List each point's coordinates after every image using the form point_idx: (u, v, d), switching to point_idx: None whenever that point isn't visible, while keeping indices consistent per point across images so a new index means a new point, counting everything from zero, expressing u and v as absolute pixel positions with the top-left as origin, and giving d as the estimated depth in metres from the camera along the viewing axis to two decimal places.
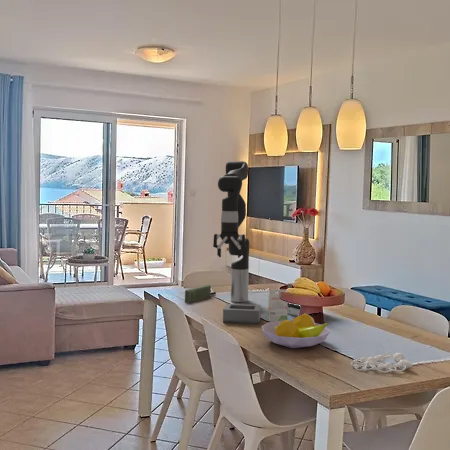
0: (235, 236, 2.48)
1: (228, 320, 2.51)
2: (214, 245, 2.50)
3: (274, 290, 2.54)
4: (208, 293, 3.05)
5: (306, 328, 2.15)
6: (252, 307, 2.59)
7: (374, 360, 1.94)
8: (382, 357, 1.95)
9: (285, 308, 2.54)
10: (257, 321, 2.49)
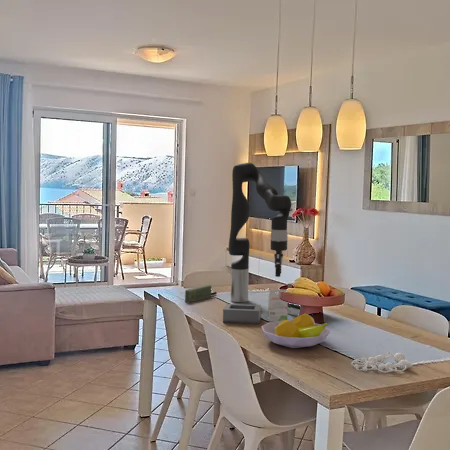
0: (281, 253, 2.57)
1: (228, 320, 2.51)
2: (280, 265, 2.48)
3: (274, 290, 2.54)
4: (209, 293, 3.05)
5: (306, 328, 2.15)
6: (252, 307, 2.59)
7: (375, 360, 1.94)
8: (382, 357, 1.95)
9: (285, 308, 2.54)
10: (257, 321, 2.49)
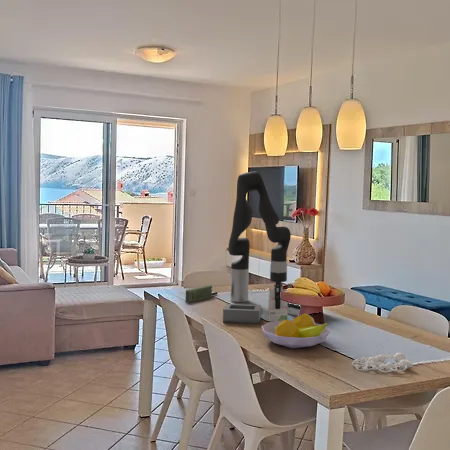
0: None
1: (228, 320, 2.51)
2: None
3: None
4: (209, 293, 3.05)
5: (306, 328, 2.15)
6: (252, 307, 2.59)
7: (375, 360, 1.94)
8: (383, 357, 1.95)
9: (285, 308, 2.54)
10: (257, 321, 2.49)
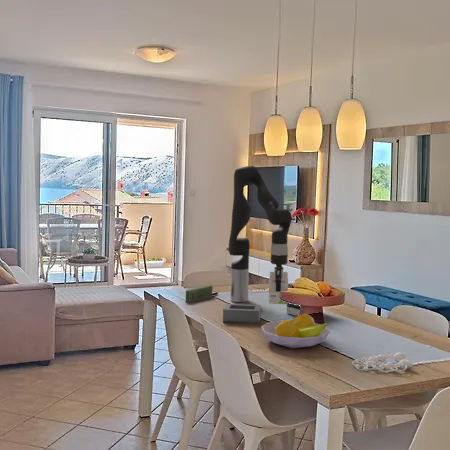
0: None
1: (228, 320, 2.51)
2: (280, 280, 2.50)
3: (274, 272, 2.53)
4: (210, 293, 3.05)
5: (306, 328, 2.15)
6: (252, 307, 2.59)
7: (375, 360, 1.94)
8: (383, 357, 1.95)
9: None
10: (257, 321, 2.49)
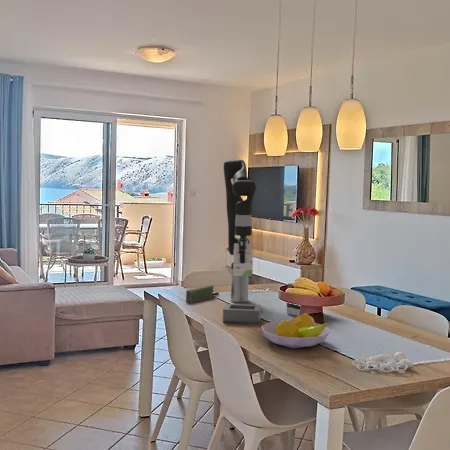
0: (246, 238, 2.56)
1: (228, 320, 2.51)
2: (244, 252, 2.48)
3: None
4: (210, 293, 3.04)
5: (306, 328, 2.15)
6: (252, 307, 2.59)
7: (376, 360, 1.94)
8: (383, 357, 1.96)
9: (250, 262, 2.51)
10: (257, 321, 2.49)
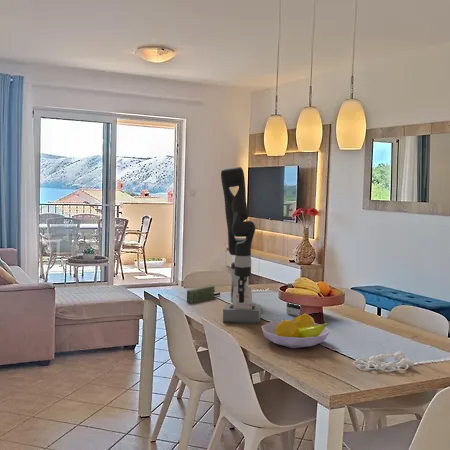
0: (245, 278, 2.57)
1: (228, 320, 2.51)
2: (243, 291, 2.48)
3: None
4: (212, 294, 3.04)
5: (306, 328, 2.15)
6: (252, 307, 2.59)
7: (376, 359, 1.94)
8: (383, 356, 1.96)
9: (249, 306, 2.53)
10: (257, 321, 2.49)
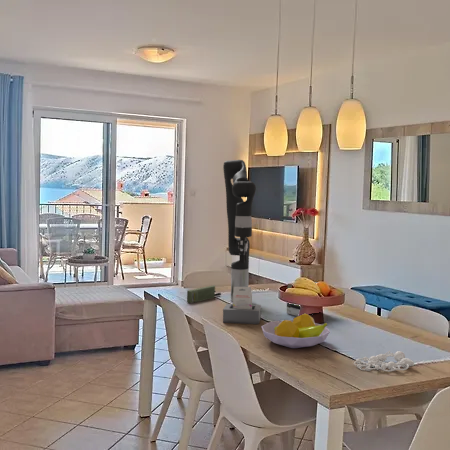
0: (246, 240, 2.56)
1: (228, 320, 2.51)
2: (244, 252, 2.47)
3: (238, 287, 2.53)
4: (212, 294, 3.03)
5: (306, 328, 2.15)
6: (252, 307, 2.59)
7: (376, 359, 1.95)
8: (384, 356, 1.96)
9: (249, 306, 2.53)
10: (257, 321, 2.49)
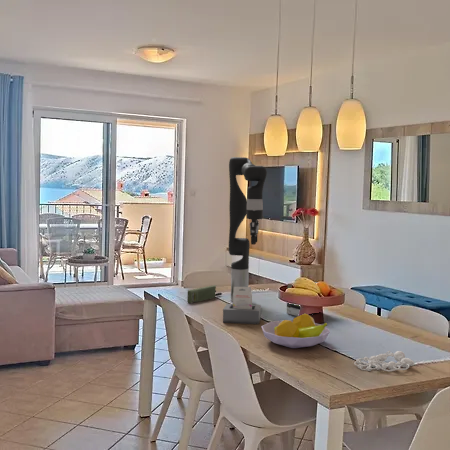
0: (257, 222, 2.66)
1: (228, 320, 2.51)
2: (255, 233, 2.57)
3: (238, 287, 2.53)
4: (213, 294, 3.03)
5: (306, 328, 2.15)
6: (252, 307, 2.59)
7: (377, 359, 1.95)
8: (384, 356, 1.96)
9: (249, 306, 2.53)
10: (257, 321, 2.49)
